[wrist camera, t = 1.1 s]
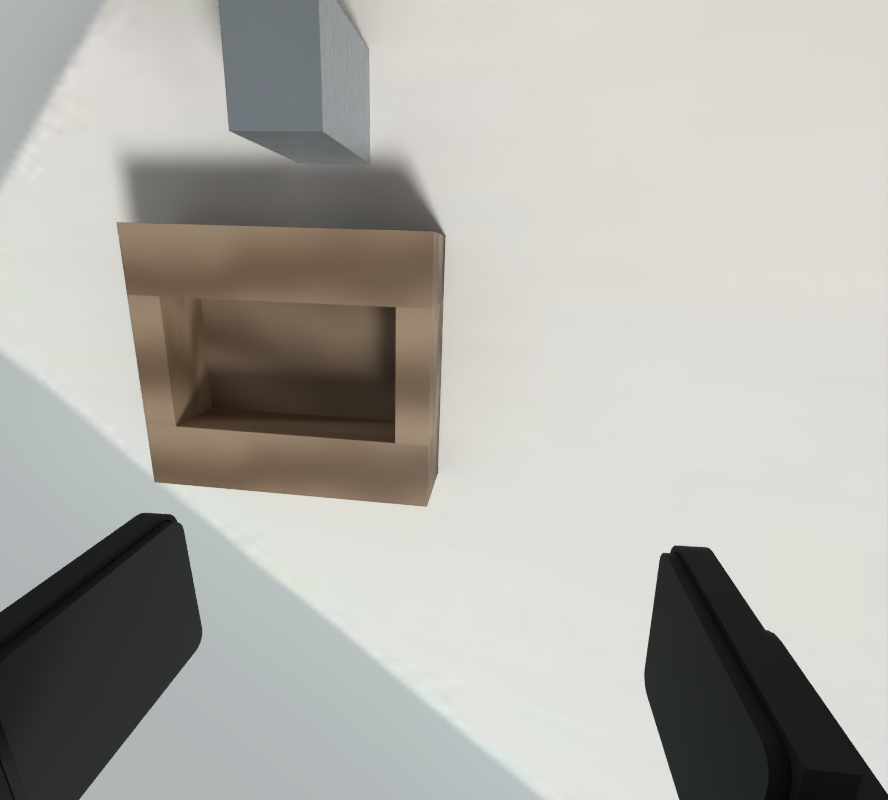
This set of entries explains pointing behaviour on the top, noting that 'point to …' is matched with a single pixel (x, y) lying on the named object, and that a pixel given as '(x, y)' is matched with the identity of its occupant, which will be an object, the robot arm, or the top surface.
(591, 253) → the top surface
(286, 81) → the tall blue-grey block
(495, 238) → the top surface
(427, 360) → the walnut well
